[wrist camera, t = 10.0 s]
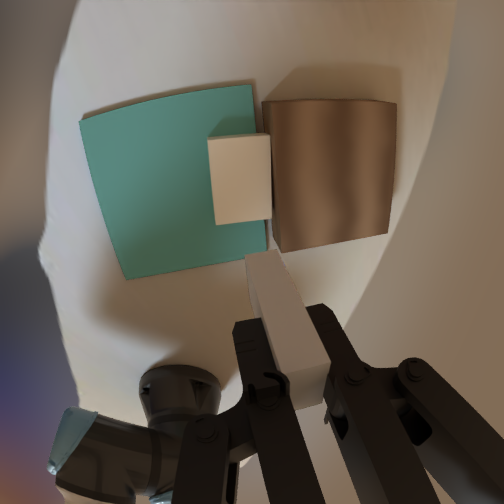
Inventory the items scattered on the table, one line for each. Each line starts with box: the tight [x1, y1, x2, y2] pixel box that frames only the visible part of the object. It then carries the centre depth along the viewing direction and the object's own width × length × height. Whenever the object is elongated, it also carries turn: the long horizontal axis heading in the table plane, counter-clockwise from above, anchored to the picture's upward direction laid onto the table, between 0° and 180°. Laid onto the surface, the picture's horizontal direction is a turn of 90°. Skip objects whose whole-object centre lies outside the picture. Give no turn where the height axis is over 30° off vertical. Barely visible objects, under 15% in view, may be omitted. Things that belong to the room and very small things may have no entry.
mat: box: [79, 84, 267, 280], centre depth 30 cm, size 18×20×1 cm
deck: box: [262, 99, 397, 253], centre depth 30 cm, size 14×16×4 cm
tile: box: [207, 133, 272, 225], centre depth 29 cm, size 6×9×2 cm, turn 2°
